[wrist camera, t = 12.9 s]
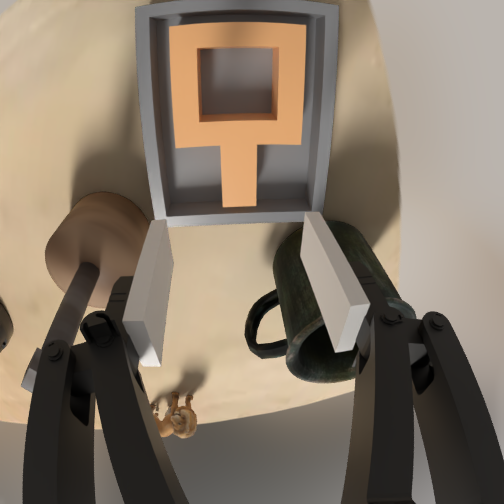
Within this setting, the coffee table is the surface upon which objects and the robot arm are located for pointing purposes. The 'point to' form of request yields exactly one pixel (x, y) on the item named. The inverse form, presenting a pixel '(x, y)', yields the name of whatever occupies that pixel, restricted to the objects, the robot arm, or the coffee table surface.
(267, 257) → the coffee table surface
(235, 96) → the tray
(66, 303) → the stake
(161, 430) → the lion figurine
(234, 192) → the orange square frame paddle
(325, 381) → the mug
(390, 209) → the coffee table surface
